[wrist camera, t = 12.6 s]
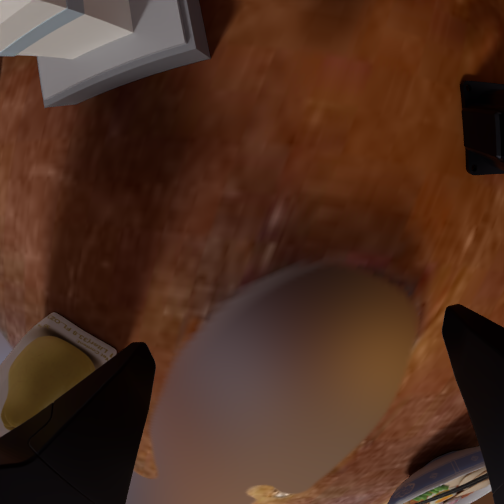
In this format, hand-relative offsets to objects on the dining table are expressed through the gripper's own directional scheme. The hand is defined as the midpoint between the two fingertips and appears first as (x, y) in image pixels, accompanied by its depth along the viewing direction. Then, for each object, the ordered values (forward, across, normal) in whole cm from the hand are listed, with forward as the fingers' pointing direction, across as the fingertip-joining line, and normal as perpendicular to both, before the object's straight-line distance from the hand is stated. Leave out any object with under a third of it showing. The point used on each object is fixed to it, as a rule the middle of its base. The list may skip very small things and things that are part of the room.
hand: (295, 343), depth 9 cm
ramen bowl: (+13, -20, +43) cm, 49 cm away
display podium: (+13, +8, -15) cm, 21 cm away
